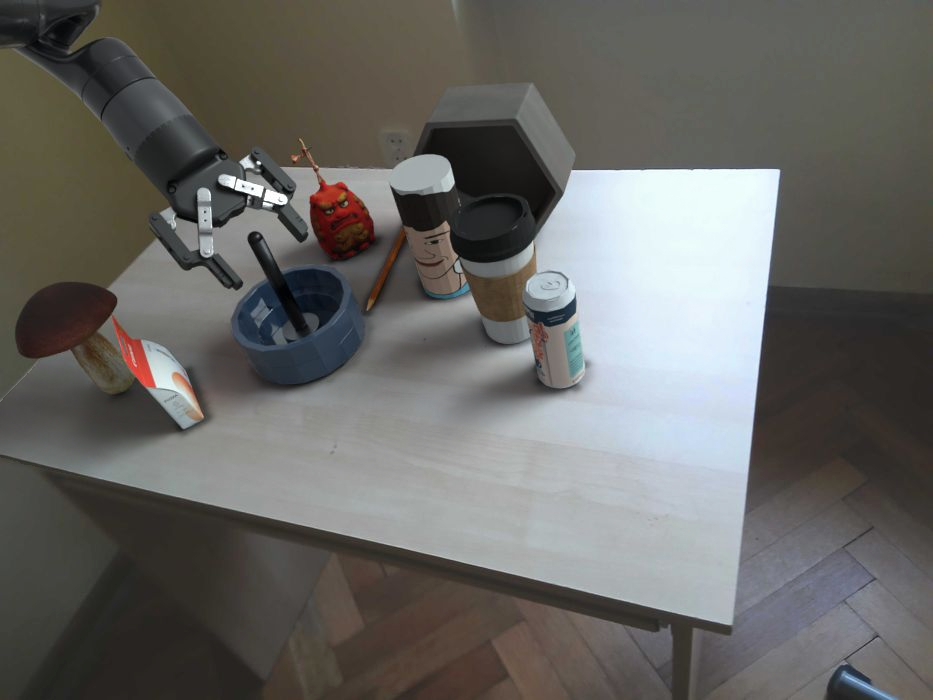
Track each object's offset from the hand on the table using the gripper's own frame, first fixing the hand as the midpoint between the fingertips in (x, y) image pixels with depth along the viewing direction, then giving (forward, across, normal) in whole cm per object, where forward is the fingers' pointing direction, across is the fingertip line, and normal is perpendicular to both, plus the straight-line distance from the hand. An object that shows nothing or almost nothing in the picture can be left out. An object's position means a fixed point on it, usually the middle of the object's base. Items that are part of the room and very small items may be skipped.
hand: (273, 262), depth 72 cm
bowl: (+8, 0, +10) cm, 13 cm away
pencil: (+7, +15, +11) cm, 20 cm away
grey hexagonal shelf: (+13, +27, +5) cm, 30 cm away
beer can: (+28, +12, -9) cm, 32 cm away
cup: (+13, +17, +5) cm, 22 cm away
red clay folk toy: (+1, +15, +17) cm, 23 cm away
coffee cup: (+21, +15, -3) cm, 26 cm away
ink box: (+4, -14, +14) cm, 20 cm away
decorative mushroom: (-2, -17, +20) cm, 27 cm away
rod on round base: (+7, 0, +10) cm, 12 cm away
